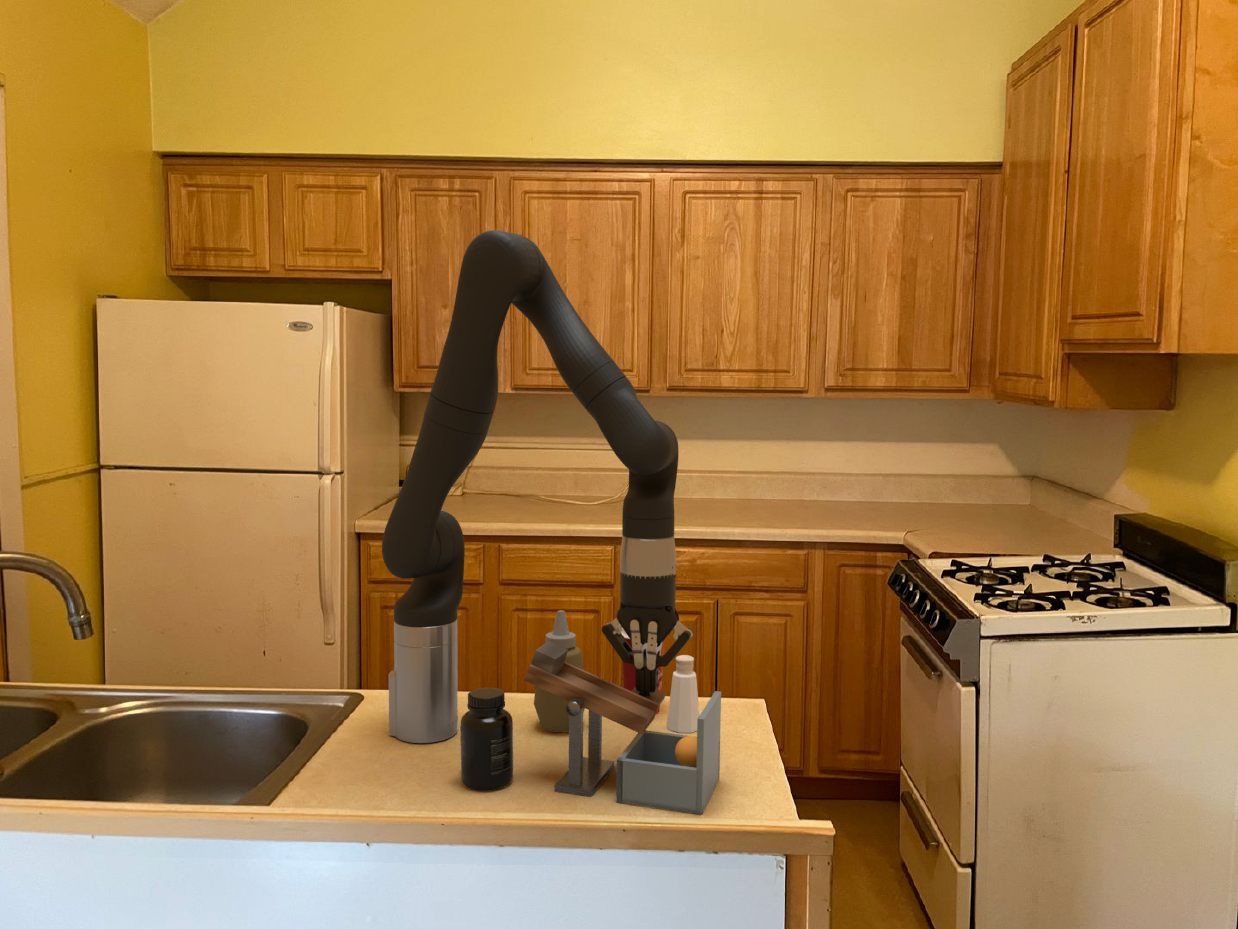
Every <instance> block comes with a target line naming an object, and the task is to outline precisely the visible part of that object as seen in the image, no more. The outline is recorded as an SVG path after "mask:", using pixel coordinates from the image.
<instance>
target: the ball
mask: <svg viewBox="0 0 1238 929" xmlns="http://www.w3.org/2000/svg"><path fill="white" fill-rule="evenodd" d="M675 756H676V759H677V761H678V762H679V763H680V764H681V765H682V766H687V767H694V768H696V767H697V736H696V737H695V735H694V736H693V735H688V736H686V737H684V738H682V739H681V740H680V741H679V742H678V743H677V745H676V748H675Z"/></svg>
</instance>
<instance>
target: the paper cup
mask: <svg viewBox="0 0 1238 929" xmlns="http://www.w3.org/2000/svg"><path fill="white" fill-rule="evenodd" d="M621 628H622V627H621ZM622 635H623V636H624V638H625V639H626V641H627V642H628V643H629V645H630V646H631V648H632V640H631V639H630V638H629V637H628V635H627V634H626V632H625V631H624V629H623V628H622ZM665 645H666V639H665V640H664V641H663V642H662V648H661V654H660V656H661V655H664V654H665ZM647 656H648V653H647ZM621 661H622V660H621ZM663 672H664V667H659V669H658V688H657V690H658V691H661V692H662V685H663ZM622 680H623V688H625V689H627V690H629V691H632V690H633V689H634V688H635V667H634V666H633V665H632V664H630V663H624V662H623V661H622ZM660 709H661V704H660V705H659V707H658V710H657V712H656V715H658V714H659V713H660ZM658 712H659V713H658Z"/></svg>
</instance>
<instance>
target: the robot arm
mask: <svg viewBox="0 0 1238 929" xmlns="http://www.w3.org/2000/svg"><path fill="white" fill-rule="evenodd" d="M511 305H513V306H514V307H515V308H516V309H517V310H519V312H521V313H522V315H523V316H525V318H527V320H529V322H530V323H531V324H532V326H533V327H534V328H535V329H536V331H537V332H538V333H539V335H540V337H541V339H542V340H543V341H544V344H545V346H546V348H547V349H548V352H549V354H550V357H551V358H552V360H553V363H554V365H555V368H556V370H557V371H558V373H559V375H560V377H561V378H562V380H563V382H564V383H565V385H567V387H568V389H569V391H571V392H572V394H573V395H574V397H575V398H576V399H577V400H578V402H579V403H580V404H581V405H582V407H583V408H584V409H585V410H586V411H587V413H588V414H589V415H590V417H592V418H593V419H594V421H595V422H596V424H597V425H598V428H599V429H600V431H601V434H602V435H603V437H604V439H605V441H606V442H607V444H608V445H609V447H610V448H611V450H612V451H613V453H614V454H615V455H616V457H617V458H618V460H619V461H620V462H621V463H622V464H623V465H624V467H625V468H627V469H628V486H627V488H628V489H627V493H626V494H625V496H624V499H623V502H622V516H621V517H622V521H621V523H622V524H621V525H622V526H621V527H622V528H621V531H622V532H621V533H622V536H621V545H620V554H619V555H620V556H619V565H620V566H619V568H620V569H619V570H620V571H619V572H620V573H619V574H620V576H619V579H620V580H619V603H620V604H619V607H618V610H617V612H616V618H615V619H612V620H610V621H608V622H606V623H605V624H604V625H603V626H602V627H601V632H602V634H603V635H604V637H605V638H606V639H607V641H608V642H609V644H610V645H611V646H612V648H613V649H614V651H615V652H616V653H617V655H618V656H619V657H620V659H621V661H623V662H624V663H630V664H632V665H633V666H634V667H635V687H636V690H637V691H639V694H640V695H641V696H651V695H652V694H653V693H654V692H655V691H656V690H657V688H658V669H659V667H663V668H665V667H667V666H668V665H670V663H671V662H672V660H673V659H674V658H676V657H677V656H678V654H679V652H680V651H681V650H682V649H683V648H684V646H685V645H686V644H687V643H688V642H689V641H690V639H692V637H693V636H694V633H695V631H694V629H693V628H691V627H686V626H685V625H684V624H683V623H682V622H681V621H679V620H680V616H679V613H678V611H677V609H676V597H677V596H676V594H677V593H676V590H677V589H676V588H677V587H676V586H677V585H676V583H677V581H676V580H677V573H676V572H677V571H676V570H677V564H678V563H677V551H676V550H677V548H676V543H675V493H676V492H675V491H676V484H677V478H678V477H677V476H678V468H679V441H678V438H677V435H676V433H675V431H674V430H673V429H672V428H671V427H670V426H669V425H668V424H666V422H665V423H664V422H663V421H659V420H655V419H654V418H653V417H652V416H651V414H650V413H649V412H648V410H647V409H646V408H645V406H644V405H643V404H642V403H641V401H640V399H638V397H637V391H636V389H635V387H634V385H633V384H632V382H631V381H630V379H629V378H628V377H627V376H626V375H625V373H624V371H622V369H621V368H620V366H619V365H618V364H617V363H616V362H615V360H614V359H613V358H612V357H611V356H610V355H609V353H608V352H607V350H605V348H604V347H603V346H602V344H601V343H600V341H599V340H598V339H597V338H596V336H594V334H593V333H592V331H591V330H590V329H589V327H588V326H587V325H586V324H585V322H584V320H583V319H582V318H581V316H580V315H579V314H578V312H577V310H576V309H575V308H574V306H573V304H572V303H571V301H570V300H569V298H568V297H567V295H566V293H565V292H564V290H563V288H562V287H561V284H559V281H558V280H557V277H556V276H555V274H554V272H553V269H551V267H550V265H549V263H548V261H547V260H546V258H545V256H544V254H543V253H542V252H541V250H540V248H539V247H538V246H537V244H536V243H535V242H534V241H533V240H531V239H530V238H529V237H526V236H524V235H522V234H518V233H513V232H508V231H504V230H498V229H497V230H494V229H493V230H487V231H483V232H481V233H479V234H478V235H476V236H475V238H473V239H472V240H471V241H470V243H469V244H468V246H467V248H466V250H465V252H464V254H463V257H462V261H461V265H460V270H459V275H458V281H457V288H456V293H455V300H454V305H453V310H452V314H451V321H450V325H449V328H448V332H447V336H446V339H445V343H444V345H443V349H442V351H441V354H440V355H441V356H440V359H439V364H438V367H437V370H436V373H435V376H434V380H433V382H432V383H433V384H432V386H431V388H430V392H429V396H428V399H427V403H426V406H425V410H424V413H423V418H422V422H421V426H420V430H419V434H418V437H417V439H416V443H415V446H414V449H413V451H412V456H411V457H410V458H411V459H410V462H409V466H408V469H407V472H406V475H405V477H404V480H403V483H402V486H401V488H400V490H399V493H398V495H397V498H396V500H395V503H394V506H393V508H392V511H391V512H390V515H389V518H388V520H387V522H386V526H385V529H384V531H383V535H382V542H381V556H382V560H383V563H384V565H385V567H386V569H387V571H389V573H390V574H391V575H393V577H395V578H399V579H402V580H407V579H409V580H410V579H413V580H412V582H411V584H410V585H409V587H408V589H407V590H406V591H405V592H404V594H402V595H401V596H400V597H399V598H398V599H397V600H396V602H395V604H394V606H393V607H394V608H393V641H394V643H393V648H394V649H393V651H394V653H393V655H394V657H393V658H394V660H393V661H394V662H393V663H394V665H393V667H394V668H393V670H391V671H390V672H389V673H388V735H389V736H393V737H396V738H397V739H398V740H400V741H403V742H407V743H414V744H415V743H416V744H430V743H437V742H441V741H445V740H448V739H450V738H452V737H453V736H455V735H456V734H457V732H458V720H459V717H458V610H459V606H460V604H461V601H462V599H463V598H462V597H463V594H464V575H465V574H464V573H465V556H466V555H465V554H466V550H465V549H466V548H465V537H464V533H463V532H464V531H463V529H462V527H461V525H460V523H459V521H458V520H457V519H456V517H454V515H453V514H451V513H449V512H447V511H443V510H442V509H443V506H444V504H445V501H446V498H447V496H448V495H449V493H450V492H451V490H452V488H453V486H454V485H455V484H456V482H457V481H458V479H460V477H461V476H462V475H463V473H464V472H465V470H467V468H468V467H469V465H470V464H471V463H472V461H473V460H474V459H475V457H476V456H477V454H478V453H479V451H480V450H481V448H482V447H483V445H484V443H485V440H486V437H487V435H488V432H489V429H490V426H491V422H492V421H493V420H492V419H493V416H494V412H495V409H496V406H497V401H498V395H499V372H498V370H499V369H498V368H499V366H498V348H499V347H498V346H499V341H500V337H501V334H502V329H503V328H504V323H505V321H506V317H507V315H508V312H509V309H510V306H511ZM622 628H623V629H624V631H625V632H626V634H627V635H628V637H629V638H630V639H631V640H632V648H631V646H630V645H629V643H628V642H627V641H626V639H625V638H624V636H623V635H622ZM673 630H674V633H673V639H674V642H673V644H672V645H671V646H670V647H669V648H668V650H667V651H666V652H664V655H661V656H660V654H661V648H662V642H663V641H664V640H665V641H666V639H667V638H668V637H669V635H670V634H671V633H672V631H673ZM647 653H648V656H647ZM623 662H622V663H623Z"/></svg>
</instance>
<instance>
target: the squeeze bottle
mask: <svg viewBox="0 0 1238 929" xmlns="http://www.w3.org/2000/svg"><path fill="white" fill-rule="evenodd" d="M552 628H553V629H552V631H550V632H548V633H546V634H545V635H544V636H545V640H544V641H545V643H547V642H548V641H550V642H552V643H554V644H556V645H559V646H561V647H563V648H566V649H568V652H567V655H566V658H565V662H567V663H569V664H571V665H574V666H576V667H578V668H580V669H583V670H585V669H584V661H583V651H582V650H581V649H580V648H579V647H578V646H576V645H577V635H576V634H575V633H574V632H572V631H570V630H569V624H568V621H567V615H566V611H565V610H563V609H562V610H561V609H560V610H557V611H556V615H555V619H554V624H553V627H552ZM545 643H544V644H545ZM534 689H535V690H534V696H533V697H534V698H533V705H534V709H535V712H536V714H537V718H538V721H539V724H540V727H541V728H542V729H543V730H545V731H548V732H553V733H566V732H567V733H569V714H568V713H567V711H566V707H567V705H568V704H569V701H568V700H566V699H564V698H562V697H559V696H557V695H555V694H553V693H551V692H548V691H546V690H544V689H542V688H540V687H538V686H535V688H534ZM585 710H586V709H585V708H583V714H584V712H585Z"/></svg>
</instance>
